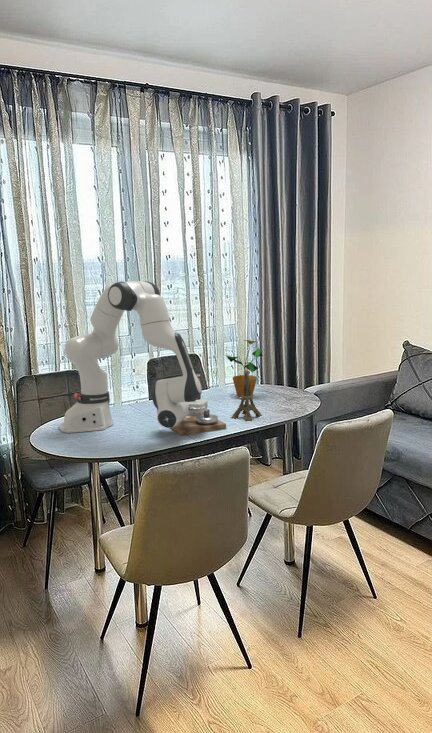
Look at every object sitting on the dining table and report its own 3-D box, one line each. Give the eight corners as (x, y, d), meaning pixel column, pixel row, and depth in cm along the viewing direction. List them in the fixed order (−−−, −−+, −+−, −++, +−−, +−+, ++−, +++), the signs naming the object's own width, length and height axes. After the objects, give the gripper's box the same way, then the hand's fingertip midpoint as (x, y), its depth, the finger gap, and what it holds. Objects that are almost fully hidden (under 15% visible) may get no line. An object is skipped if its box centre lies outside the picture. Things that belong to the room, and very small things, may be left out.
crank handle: (169, 421, 237) (168, 393, 235) (177, 416, 245) (176, 389, 243) (213, 425, 231) (212, 396, 228) (220, 419, 239) (220, 391, 237)
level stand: (181, 435, 225) (180, 404, 223) (159, 420, 248) (158, 391, 245) (226, 428, 234) (225, 398, 232) (201, 414, 256) (200, 386, 254)
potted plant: (268, 399, 283) (268, 339, 278) (232, 402, 279) (232, 341, 273) (256, 391, 300) (256, 335, 295) (222, 394, 296) (221, 336, 290)
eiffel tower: (244, 413, 258) (244, 358, 254) (263, 416, 251) (263, 361, 247) (230, 418, 250) (229, 362, 246) (249, 422, 244) (249, 364, 239)
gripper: (203, 401, 221) (211, 394, 234) (153, 399, 225) (163, 392, 238) (204, 417, 222) (211, 409, 235) (153, 415, 226) (163, 407, 239)
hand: (186, 400), depth 237 cm, fingers closed
